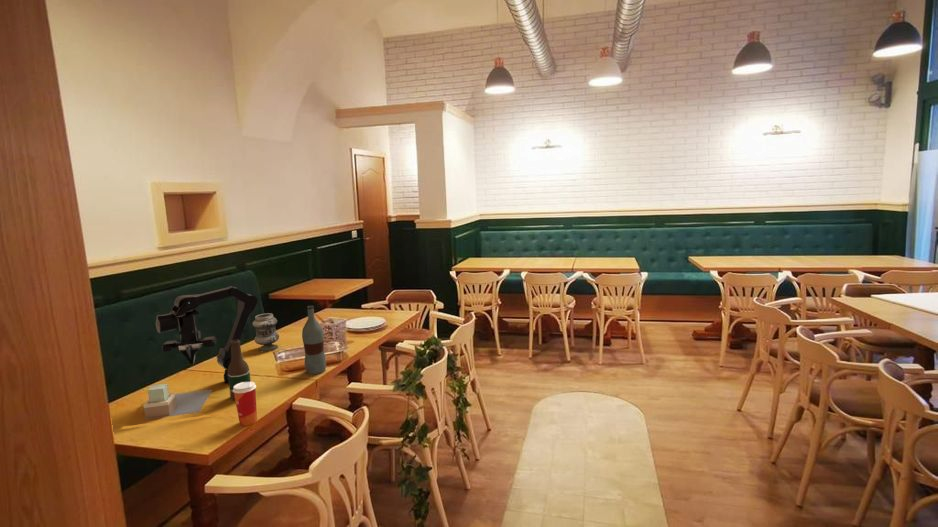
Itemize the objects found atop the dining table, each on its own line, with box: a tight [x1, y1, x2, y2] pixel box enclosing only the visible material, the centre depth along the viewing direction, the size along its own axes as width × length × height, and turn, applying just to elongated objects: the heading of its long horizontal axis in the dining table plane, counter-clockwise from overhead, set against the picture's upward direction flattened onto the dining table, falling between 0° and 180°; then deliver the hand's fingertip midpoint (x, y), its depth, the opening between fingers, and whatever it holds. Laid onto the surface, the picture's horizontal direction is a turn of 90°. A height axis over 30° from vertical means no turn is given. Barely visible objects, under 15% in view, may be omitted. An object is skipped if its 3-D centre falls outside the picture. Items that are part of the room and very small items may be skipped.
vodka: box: [301, 305, 327, 375], centre depth 223 cm, size 9×9×30 cm
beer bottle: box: [228, 340, 252, 401], centre depth 197 cm, size 8×8×24 cm
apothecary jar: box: [252, 312, 280, 353], centre depth 259 cm, size 12×12×18 cm
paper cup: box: [233, 381, 258, 427], centre depth 177 cm, size 8×8×14 cm
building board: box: [143, 389, 214, 421], centre depth 194 cm, size 18×22×6 cm
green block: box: [147, 383, 170, 403], centre depth 186 cm, size 5×5×6 cm
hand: (192, 364), depth 202 cm, fingers closed
